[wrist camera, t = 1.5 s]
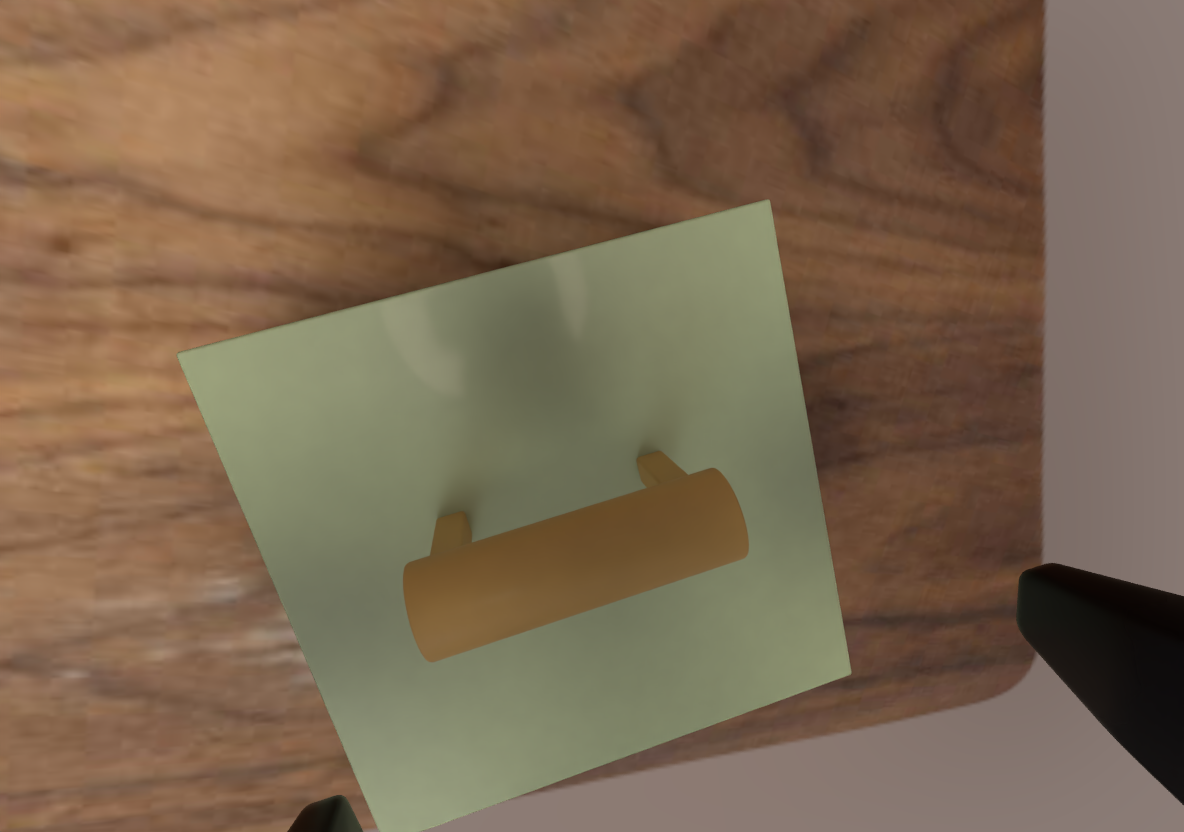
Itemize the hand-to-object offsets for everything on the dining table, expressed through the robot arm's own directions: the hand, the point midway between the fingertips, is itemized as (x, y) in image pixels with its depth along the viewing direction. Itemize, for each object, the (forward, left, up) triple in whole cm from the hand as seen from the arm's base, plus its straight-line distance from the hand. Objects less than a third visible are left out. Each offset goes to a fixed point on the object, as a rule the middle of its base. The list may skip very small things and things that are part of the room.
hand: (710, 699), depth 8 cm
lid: (-1, +1, -8) cm, 8 cm away
